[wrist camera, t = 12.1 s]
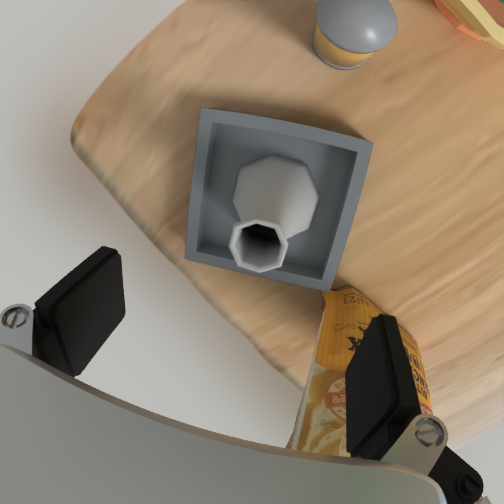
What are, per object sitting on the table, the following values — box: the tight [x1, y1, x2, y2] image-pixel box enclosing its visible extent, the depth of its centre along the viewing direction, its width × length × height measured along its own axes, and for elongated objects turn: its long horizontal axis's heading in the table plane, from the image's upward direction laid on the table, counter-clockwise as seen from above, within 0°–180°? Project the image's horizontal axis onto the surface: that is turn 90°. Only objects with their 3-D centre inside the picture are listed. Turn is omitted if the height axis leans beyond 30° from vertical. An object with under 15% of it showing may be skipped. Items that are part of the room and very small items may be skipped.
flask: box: [228, 154, 319, 273], centre depth 21 cm, size 7×7×10 cm
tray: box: [185, 108, 373, 292], centre depth 25 cm, size 13×13×2 cm
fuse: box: [313, 0, 397, 70], centre depth 16 cm, size 5×5×8 cm
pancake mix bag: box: [286, 286, 433, 457], centre depth 18 cm, size 7×19×28 cm, turn 53°
